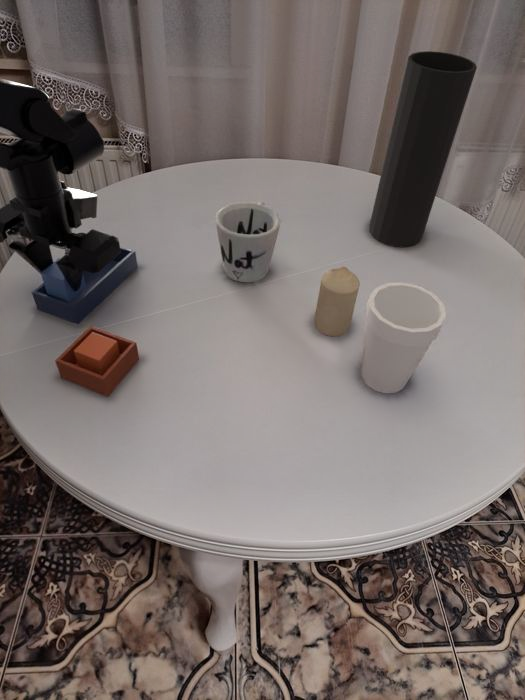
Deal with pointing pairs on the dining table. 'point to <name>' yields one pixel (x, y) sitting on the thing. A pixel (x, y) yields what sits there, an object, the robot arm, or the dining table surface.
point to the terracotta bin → (90, 379)
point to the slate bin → (88, 289)
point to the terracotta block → (97, 353)
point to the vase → (419, 144)
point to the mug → (247, 239)
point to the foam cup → (398, 333)
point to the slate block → (59, 283)
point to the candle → (336, 301)
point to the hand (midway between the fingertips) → (65, 285)
